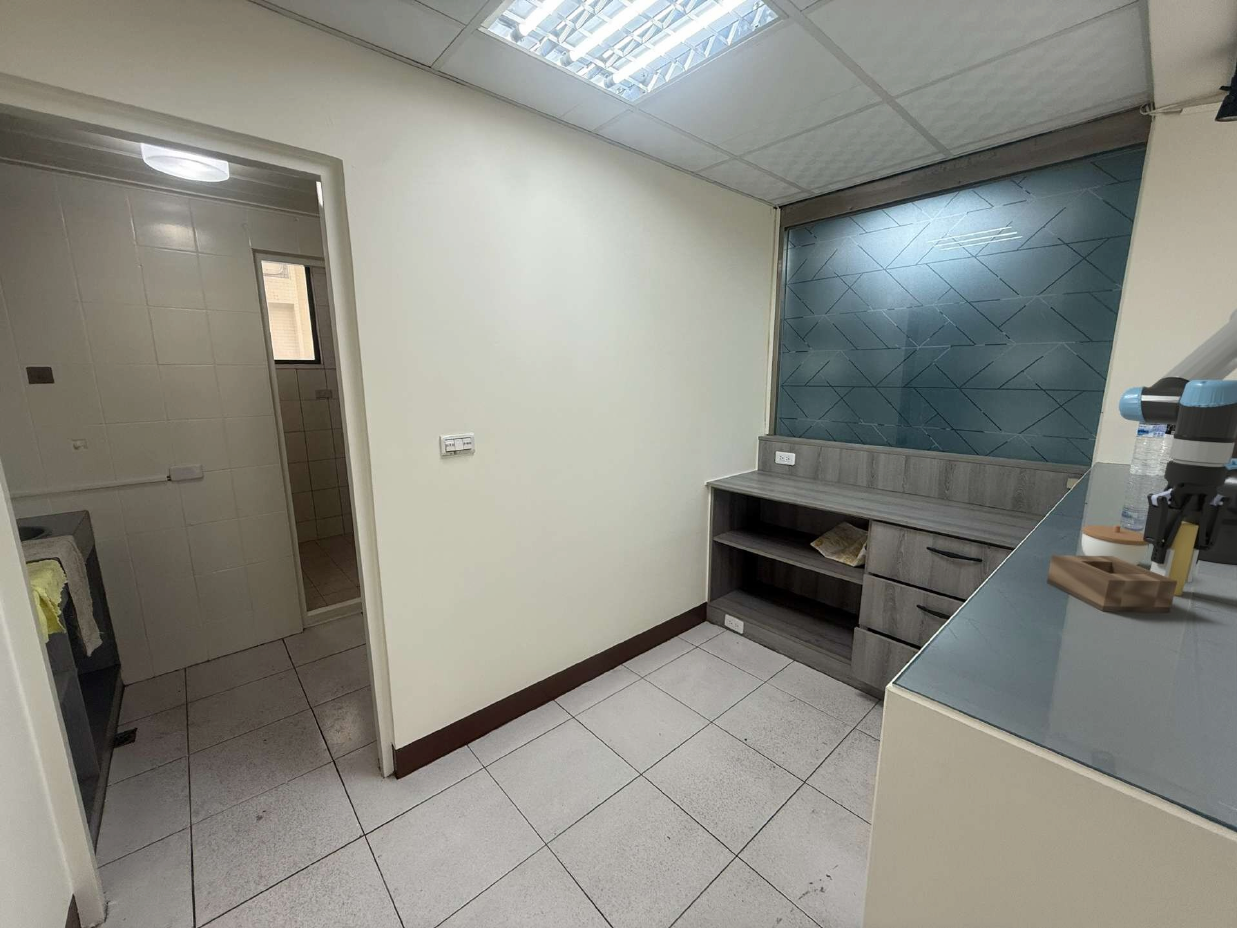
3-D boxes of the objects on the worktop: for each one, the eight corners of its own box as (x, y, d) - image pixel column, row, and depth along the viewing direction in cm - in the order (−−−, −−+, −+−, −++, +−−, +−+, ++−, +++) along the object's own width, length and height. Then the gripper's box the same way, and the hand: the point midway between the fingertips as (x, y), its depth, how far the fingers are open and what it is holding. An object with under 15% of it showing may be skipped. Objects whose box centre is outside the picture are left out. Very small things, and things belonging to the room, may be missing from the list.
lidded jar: (1113, 557, 114) (1121, 519, 113) (1158, 576, 104) (1168, 534, 102) (1064, 555, 115) (1071, 517, 114) (1103, 574, 105) (1112, 532, 103)
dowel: (1166, 586, 99) (1181, 520, 96) (1188, 595, 95) (1205, 526, 92) (1145, 586, 99) (1161, 520, 96) (1167, 595, 95) (1183, 526, 92)
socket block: (1106, 583, 100) (1112, 556, 99) (1169, 612, 88) (1177, 581, 87) (1046, 582, 100) (1051, 555, 99) (1102, 611, 88) (1108, 580, 87)
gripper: (1219, 459, 95) (1192, 571, 100) (1131, 458, 96) (1107, 570, 100) (1269, 466, 88) (1236, 587, 93) (1173, 465, 88) (1145, 586, 93)
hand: (1169, 578), depth 96 cm, fingers closed on dowel, 4 cm apart
